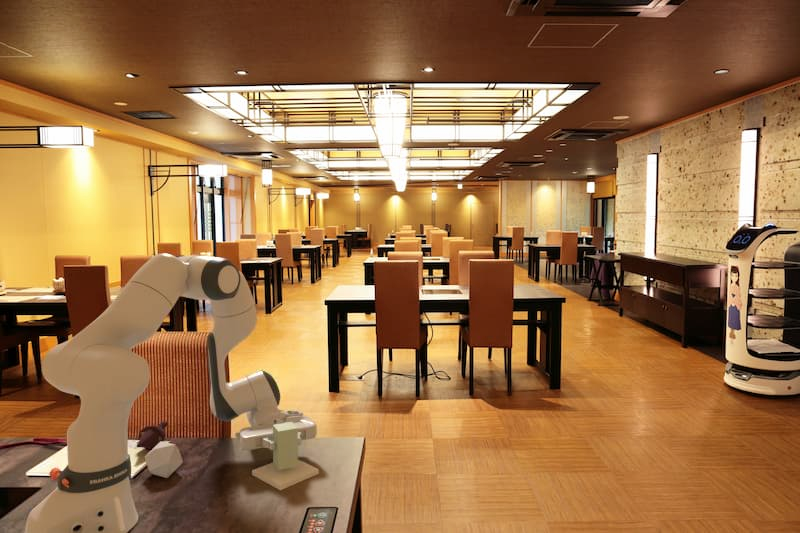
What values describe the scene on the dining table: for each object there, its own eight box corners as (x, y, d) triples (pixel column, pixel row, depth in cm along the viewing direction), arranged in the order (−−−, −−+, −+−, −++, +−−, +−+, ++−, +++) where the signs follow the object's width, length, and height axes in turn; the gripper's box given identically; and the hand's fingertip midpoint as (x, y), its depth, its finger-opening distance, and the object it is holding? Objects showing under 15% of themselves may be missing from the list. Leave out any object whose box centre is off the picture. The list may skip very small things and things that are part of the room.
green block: (278, 470, 136) (278, 431, 135) (273, 462, 140) (272, 424, 140) (297, 466, 138) (297, 428, 138) (292, 458, 143) (291, 421, 142)
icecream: (153, 437, 147) (179, 422, 162) (128, 429, 147) (155, 415, 162) (147, 462, 147) (173, 444, 162) (121, 454, 147) (149, 437, 162)
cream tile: (280, 490, 131) (280, 485, 131) (252, 474, 139) (252, 470, 139) (318, 473, 140) (318, 469, 140) (290, 459, 148) (290, 455, 148)
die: (190, 473, 141) (183, 437, 145) (175, 470, 133) (168, 432, 137) (159, 485, 141) (153, 449, 145) (142, 483, 133) (136, 445, 137)
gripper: (233, 421, 145) (244, 439, 133) (306, 409, 155) (323, 426, 143) (233, 444, 146) (245, 464, 134) (306, 431, 155) (323, 449, 143)
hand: (286, 444), depth 138 cm, fingers closed on green block, 5 cm apart
